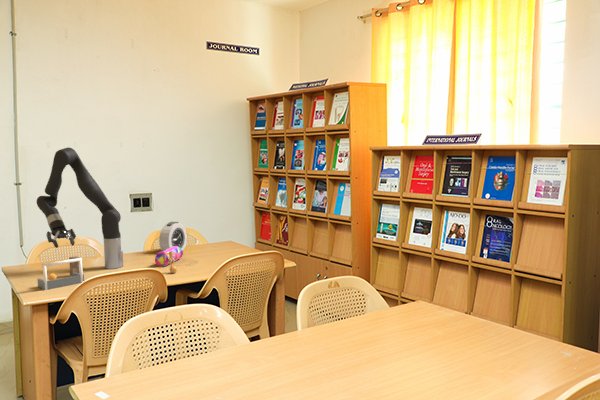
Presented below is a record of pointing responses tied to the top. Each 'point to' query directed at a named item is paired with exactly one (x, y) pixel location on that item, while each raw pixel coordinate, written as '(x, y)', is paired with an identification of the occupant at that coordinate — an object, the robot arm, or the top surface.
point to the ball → (52, 276)
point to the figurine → (173, 268)
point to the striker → (74, 266)
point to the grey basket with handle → (62, 281)
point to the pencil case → (161, 256)
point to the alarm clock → (173, 236)
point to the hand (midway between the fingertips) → (65, 245)
